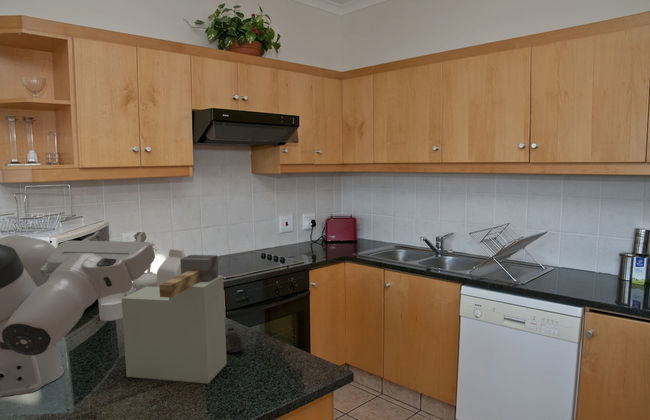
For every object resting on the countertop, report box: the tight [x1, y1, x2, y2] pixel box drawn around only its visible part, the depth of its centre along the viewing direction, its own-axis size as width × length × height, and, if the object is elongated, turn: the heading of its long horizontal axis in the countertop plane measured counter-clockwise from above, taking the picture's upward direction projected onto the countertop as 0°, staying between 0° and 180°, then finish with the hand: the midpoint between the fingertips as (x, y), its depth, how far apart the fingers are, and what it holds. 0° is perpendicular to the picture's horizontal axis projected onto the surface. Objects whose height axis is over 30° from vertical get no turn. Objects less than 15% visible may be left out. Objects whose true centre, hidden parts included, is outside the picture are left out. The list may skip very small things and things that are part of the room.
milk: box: [156, 248, 186, 287], centre depth 174 cm, size 12×12×26 cm
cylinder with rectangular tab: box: [97, 292, 125, 322], centre depth 177 cm, size 9×9×12 cm
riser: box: [122, 274, 228, 384], centre depth 130 cm, size 12×24×26 cm, turn 79°
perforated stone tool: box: [225, 324, 243, 353], centre depth 146 cm, size 15×5×7 cm, turn 20°
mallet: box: [159, 254, 219, 298], centre depth 121 cm, size 21×8×6 cm, turn 169°
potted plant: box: [132, 240, 158, 291], centre depth 200 cm, size 13×12×25 cm
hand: (122, 234), depth 98 cm, fingers open, 8 cm apart
